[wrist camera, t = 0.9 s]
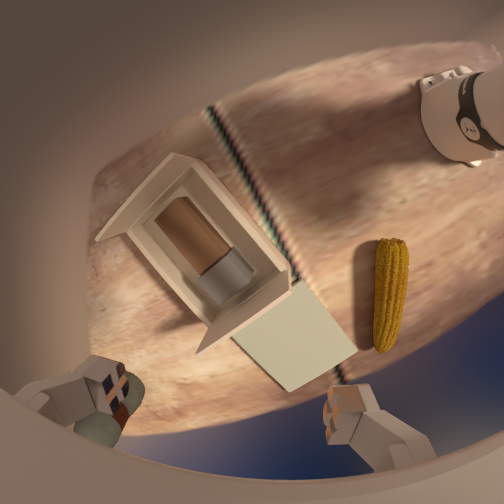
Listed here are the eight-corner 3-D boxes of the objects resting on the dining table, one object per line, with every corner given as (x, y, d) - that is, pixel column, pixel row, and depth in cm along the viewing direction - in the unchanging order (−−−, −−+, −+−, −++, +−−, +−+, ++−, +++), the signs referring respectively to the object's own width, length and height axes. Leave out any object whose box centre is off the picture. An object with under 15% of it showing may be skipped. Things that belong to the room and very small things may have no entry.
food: (370, 237, 42) (382, 244, 36) (399, 234, 41) (415, 241, 36) (367, 346, 47) (375, 364, 41) (393, 342, 46) (404, 358, 40)
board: (301, 277, 45) (301, 280, 44) (356, 347, 47) (358, 350, 46) (229, 329, 48) (228, 332, 47) (289, 388, 50) (289, 392, 49)
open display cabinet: (201, 159, 42) (170, 150, 29) (290, 264, 44) (293, 294, 32) (137, 223, 46) (93, 237, 33) (218, 317, 48) (198, 359, 35)
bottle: (108, 367, 55) (39, 449, 26) (138, 368, 54) (69, 464, 25) (124, 396, 57) (67, 479, 28) (153, 399, 56) (99, 493, 27)
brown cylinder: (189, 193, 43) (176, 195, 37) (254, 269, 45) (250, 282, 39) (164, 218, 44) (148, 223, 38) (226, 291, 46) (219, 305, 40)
